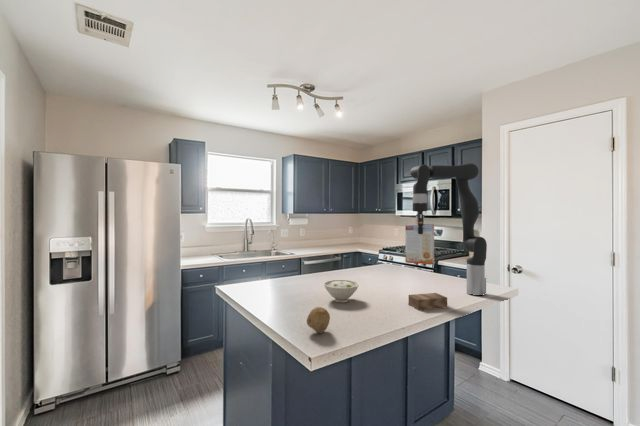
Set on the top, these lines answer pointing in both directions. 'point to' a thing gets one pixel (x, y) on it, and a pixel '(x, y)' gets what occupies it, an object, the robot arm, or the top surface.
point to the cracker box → (419, 244)
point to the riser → (427, 301)
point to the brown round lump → (318, 319)
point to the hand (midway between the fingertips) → (419, 233)
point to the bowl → (341, 289)
